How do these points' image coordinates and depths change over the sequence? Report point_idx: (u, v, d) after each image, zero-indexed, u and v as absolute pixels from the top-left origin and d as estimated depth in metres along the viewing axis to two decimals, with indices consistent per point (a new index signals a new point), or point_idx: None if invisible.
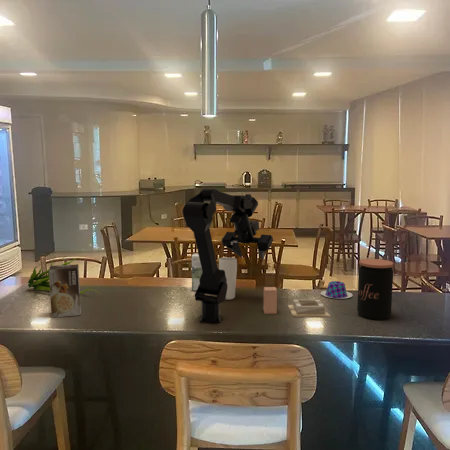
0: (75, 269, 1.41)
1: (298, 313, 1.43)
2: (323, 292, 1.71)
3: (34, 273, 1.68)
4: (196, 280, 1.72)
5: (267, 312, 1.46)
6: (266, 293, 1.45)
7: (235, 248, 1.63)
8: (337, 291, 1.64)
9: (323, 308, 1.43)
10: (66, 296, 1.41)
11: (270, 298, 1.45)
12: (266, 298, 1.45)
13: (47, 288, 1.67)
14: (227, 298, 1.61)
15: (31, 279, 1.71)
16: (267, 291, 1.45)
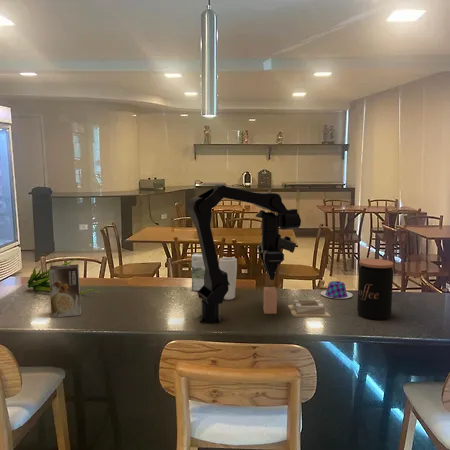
0: (75, 269, 1.41)
1: (298, 313, 1.43)
2: (323, 292, 1.70)
3: (34, 273, 1.68)
4: (196, 280, 1.72)
5: (267, 312, 1.46)
6: (266, 293, 1.45)
7: (263, 258, 1.51)
8: (337, 291, 1.64)
9: (323, 308, 1.43)
10: (66, 296, 1.41)
11: (270, 298, 1.45)
12: (266, 298, 1.45)
13: (47, 288, 1.67)
14: (227, 298, 1.61)
15: (31, 279, 1.70)
16: (267, 291, 1.45)
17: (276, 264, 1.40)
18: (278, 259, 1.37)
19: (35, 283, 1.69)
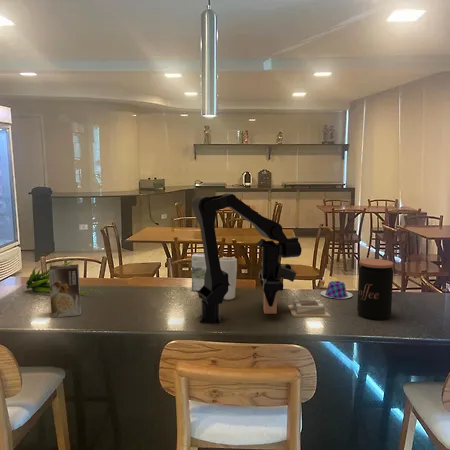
0: (75, 269, 1.41)
1: (298, 313, 1.43)
2: (323, 292, 1.70)
3: (33, 274, 1.66)
4: (196, 280, 1.72)
5: (267, 312, 1.46)
6: None
7: None
8: (338, 291, 1.64)
9: (323, 308, 1.43)
10: (66, 296, 1.41)
11: None
12: None
13: (47, 289, 1.66)
14: (227, 298, 1.61)
15: (30, 280, 1.69)
16: None
17: (275, 291, 1.43)
18: (277, 289, 1.37)
19: (34, 284, 1.68)
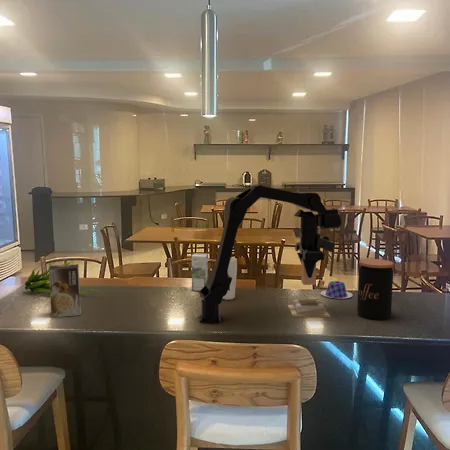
0: (75, 269, 1.41)
1: (298, 313, 1.43)
2: (322, 292, 1.70)
3: (33, 275, 1.65)
4: (196, 280, 1.72)
5: (306, 283, 1.45)
6: None
7: (302, 259, 1.48)
8: (338, 291, 1.64)
9: (323, 308, 1.43)
10: (66, 296, 1.41)
11: None
12: None
13: (47, 290, 1.65)
14: (227, 298, 1.61)
15: (29, 281, 1.67)
16: None
17: (314, 262, 1.42)
18: (318, 258, 1.36)
19: (34, 285, 1.66)
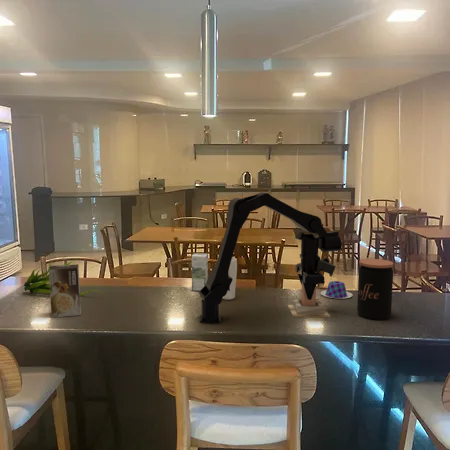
0: (75, 269, 1.41)
1: (298, 313, 1.43)
2: (322, 293, 1.70)
3: (32, 276, 1.64)
4: (196, 280, 1.72)
5: (306, 305, 1.45)
6: None
7: (302, 280, 1.49)
8: (338, 291, 1.64)
9: (323, 308, 1.43)
10: (66, 296, 1.41)
11: None
12: None
13: (47, 290, 1.64)
14: (227, 298, 1.61)
15: (28, 282, 1.66)
16: None
17: (314, 285, 1.43)
18: (318, 282, 1.37)
19: (33, 285, 1.65)
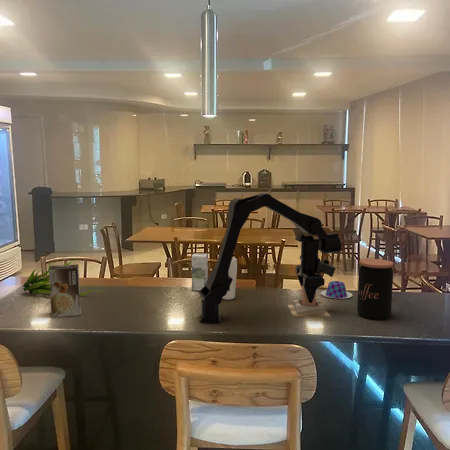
0: (75, 269, 1.41)
1: (298, 313, 1.43)
2: (322, 293, 1.70)
3: (32, 276, 1.63)
4: (196, 280, 1.72)
5: None
6: None
7: (302, 281, 1.50)
8: (339, 291, 1.64)
9: (323, 308, 1.43)
10: (66, 296, 1.41)
11: None
12: (305, 296, 1.45)
13: (47, 291, 1.63)
14: (227, 298, 1.61)
15: (28, 282, 1.65)
16: None
17: (315, 287, 1.41)
18: (318, 284, 1.37)
19: (33, 286, 1.64)
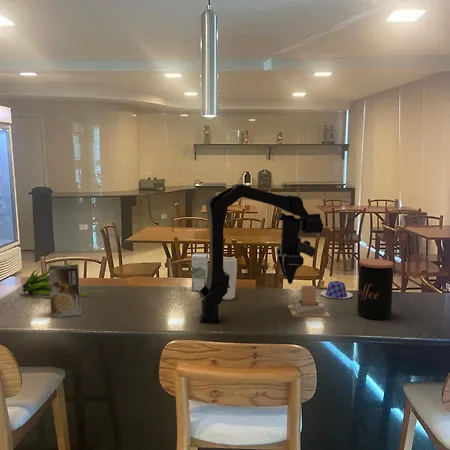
0: (75, 269, 1.41)
1: (298, 313, 1.43)
2: (322, 293, 1.69)
3: (32, 277, 1.62)
4: (196, 280, 1.72)
5: None
6: (305, 291, 1.45)
7: (282, 261, 1.49)
8: (339, 291, 1.64)
9: (323, 308, 1.43)
10: (66, 296, 1.41)
11: (309, 296, 1.45)
12: (305, 296, 1.45)
13: (47, 292, 1.62)
14: (227, 298, 1.61)
15: (27, 283, 1.64)
16: (306, 289, 1.45)
17: (295, 268, 1.38)
18: (297, 263, 1.35)
19: (33, 287, 1.63)
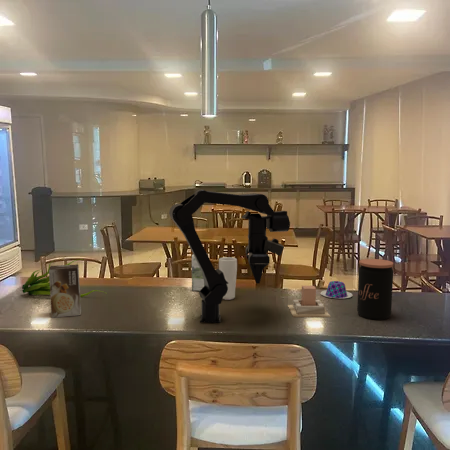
0: (75, 269, 1.41)
1: (298, 313, 1.43)
2: (322, 293, 1.69)
3: (32, 277, 1.61)
4: (196, 280, 1.72)
5: None
6: (305, 291, 1.45)
7: None
8: (339, 291, 1.65)
9: (323, 308, 1.43)
10: (66, 296, 1.41)
11: (309, 296, 1.45)
12: (305, 296, 1.45)
13: (48, 292, 1.62)
14: (227, 298, 1.61)
15: (27, 284, 1.63)
16: (306, 289, 1.45)
17: (262, 267, 1.35)
18: (263, 262, 1.32)
19: (33, 288, 1.62)
